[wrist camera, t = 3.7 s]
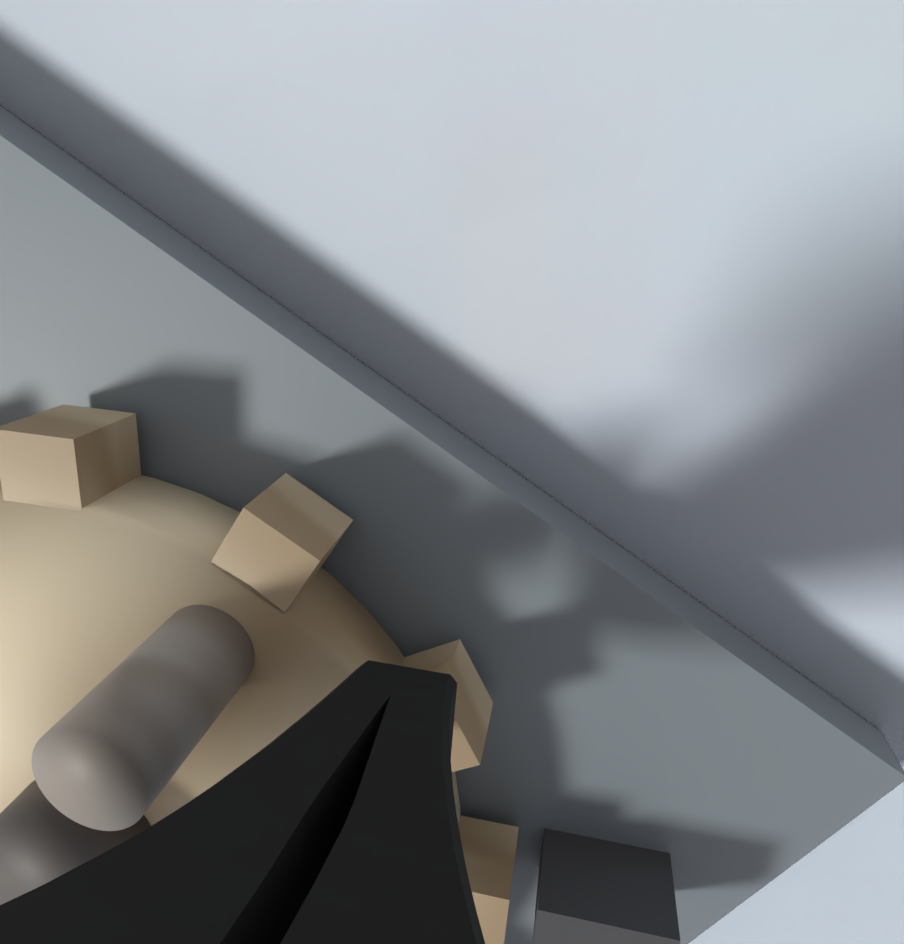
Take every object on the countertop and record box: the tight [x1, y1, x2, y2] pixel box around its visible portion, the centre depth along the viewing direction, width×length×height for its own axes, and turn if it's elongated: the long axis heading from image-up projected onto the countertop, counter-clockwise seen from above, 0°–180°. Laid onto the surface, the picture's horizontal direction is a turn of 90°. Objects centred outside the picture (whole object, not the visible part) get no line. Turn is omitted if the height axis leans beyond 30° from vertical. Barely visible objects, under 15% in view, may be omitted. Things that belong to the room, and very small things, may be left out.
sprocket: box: [0, 404, 519, 944], centre depth 13 cm, size 16×16×5 cm
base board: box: [0, 106, 904, 944], centre depth 15 cm, size 22×20×3 cm
